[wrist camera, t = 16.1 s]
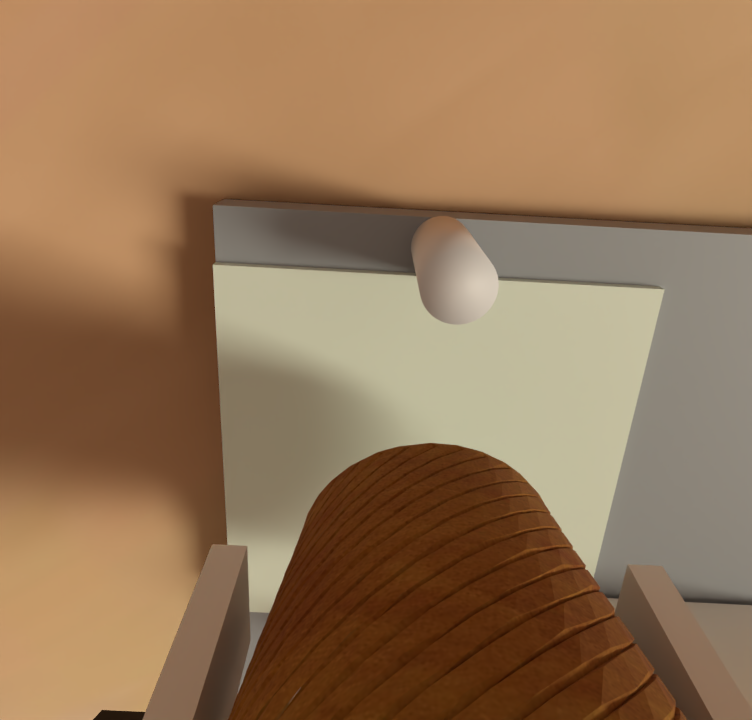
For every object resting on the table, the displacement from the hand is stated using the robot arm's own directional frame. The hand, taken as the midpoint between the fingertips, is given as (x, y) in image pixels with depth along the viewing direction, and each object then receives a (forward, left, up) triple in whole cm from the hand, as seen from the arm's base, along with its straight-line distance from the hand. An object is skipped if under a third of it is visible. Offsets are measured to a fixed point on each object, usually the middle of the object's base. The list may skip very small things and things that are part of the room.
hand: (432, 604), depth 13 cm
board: (+3, +4, -7) cm, 8 cm away
